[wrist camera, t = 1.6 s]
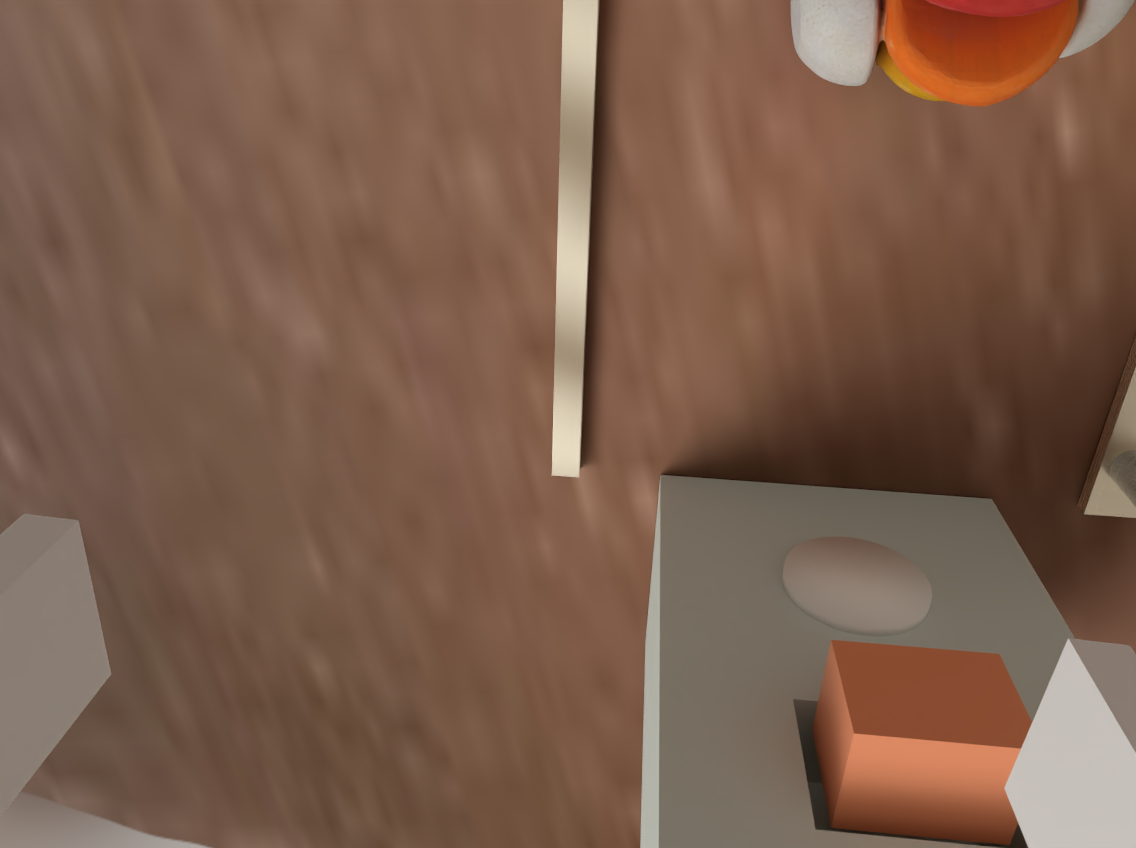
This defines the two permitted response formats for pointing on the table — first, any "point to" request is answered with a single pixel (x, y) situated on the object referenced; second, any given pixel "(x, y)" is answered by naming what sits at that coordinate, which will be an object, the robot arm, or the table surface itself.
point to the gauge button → (919, 741)
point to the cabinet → (808, 642)
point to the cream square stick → (573, 228)
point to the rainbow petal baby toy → (948, 42)
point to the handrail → (1115, 454)
